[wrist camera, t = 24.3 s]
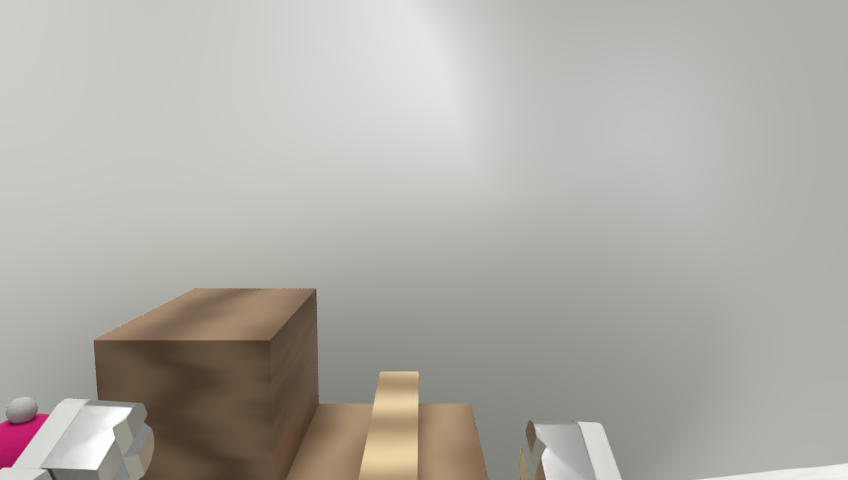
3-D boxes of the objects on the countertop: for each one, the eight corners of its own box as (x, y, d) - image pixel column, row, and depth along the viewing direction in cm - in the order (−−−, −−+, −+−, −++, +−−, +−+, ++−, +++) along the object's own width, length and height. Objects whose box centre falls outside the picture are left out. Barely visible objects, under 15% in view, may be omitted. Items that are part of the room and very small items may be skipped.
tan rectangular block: (416, 595, 25) (416, 515, 24) (352, 595, 25) (351, 515, 24) (418, 420, 43) (418, 371, 42) (380, 420, 43) (380, 371, 42)
